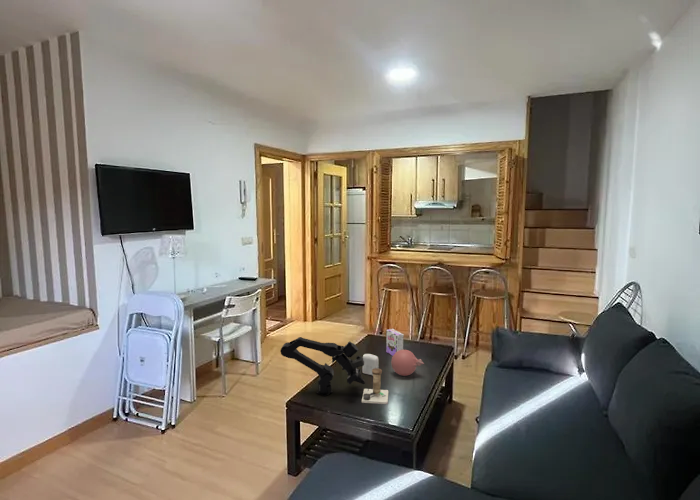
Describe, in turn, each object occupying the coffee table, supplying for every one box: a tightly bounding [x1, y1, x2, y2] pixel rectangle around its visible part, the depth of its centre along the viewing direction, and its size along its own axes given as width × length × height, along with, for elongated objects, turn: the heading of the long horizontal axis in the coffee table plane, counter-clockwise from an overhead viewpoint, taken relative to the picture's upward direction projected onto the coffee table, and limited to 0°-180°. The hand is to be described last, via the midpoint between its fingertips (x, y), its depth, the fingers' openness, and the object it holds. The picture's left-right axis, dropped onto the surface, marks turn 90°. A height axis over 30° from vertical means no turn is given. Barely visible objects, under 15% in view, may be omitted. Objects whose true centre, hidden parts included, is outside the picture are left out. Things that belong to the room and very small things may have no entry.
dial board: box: [361, 388, 389, 405], centre depth 213 cm, size 14×14×1 cm
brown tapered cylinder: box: [362, 367, 383, 400], centre depth 211 cm, size 11×5×14 cm, turn 129°
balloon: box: [390, 349, 425, 377], centre depth 240 cm, size 15×20×15 cm
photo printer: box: [361, 353, 380, 377], centre depth 242 cm, size 10×4×12 cm, turn 60°
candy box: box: [385, 328, 405, 357], centre depth 274 cm, size 14×6×16 cm, turn 25°
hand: (364, 383), depth 215 cm, fingers closed
